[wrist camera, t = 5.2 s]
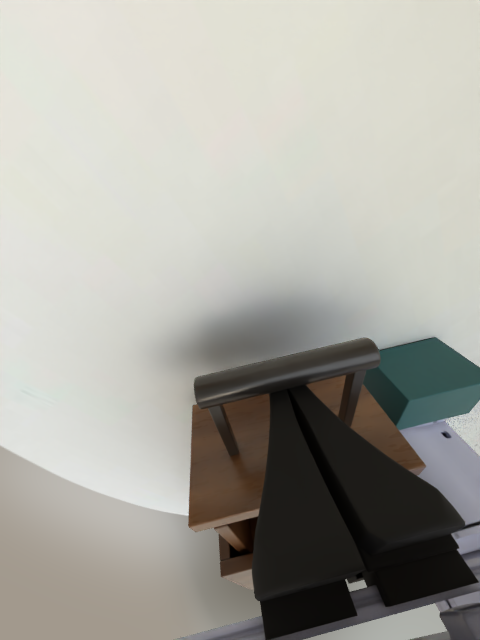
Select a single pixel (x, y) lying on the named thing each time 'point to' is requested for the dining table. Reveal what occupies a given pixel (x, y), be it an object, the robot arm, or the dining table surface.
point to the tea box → (423, 383)
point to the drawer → (254, 423)
